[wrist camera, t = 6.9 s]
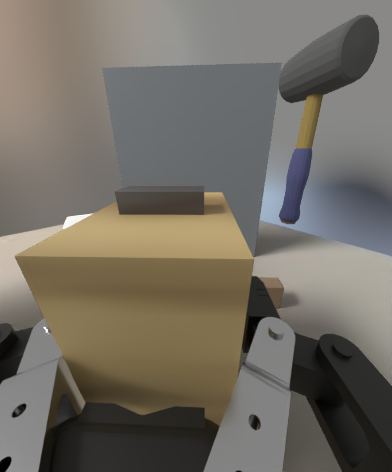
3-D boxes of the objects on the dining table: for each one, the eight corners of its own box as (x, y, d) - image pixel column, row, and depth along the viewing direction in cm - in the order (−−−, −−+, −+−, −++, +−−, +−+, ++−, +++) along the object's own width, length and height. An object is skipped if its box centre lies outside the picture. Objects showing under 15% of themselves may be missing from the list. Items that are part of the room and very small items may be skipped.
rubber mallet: (326, 231, 35) (395, 12, 23) (294, 236, 33) (349, 0, 21) (283, 213, 46) (313, 58, 34) (256, 215, 44) (278, 53, 32)
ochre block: (222, 478, 9) (259, 221, 3) (118, 471, 9) (-3, 220, 4) (214, 339, 15) (222, 177, 10) (154, 337, 15) (130, 177, 10)
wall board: (279, 308, 18) (360, -30, 9) (100, 303, 19) (7, -13, 10) (250, 250, 29) (274, 71, 20) (138, 249, 29) (111, 75, 20)
